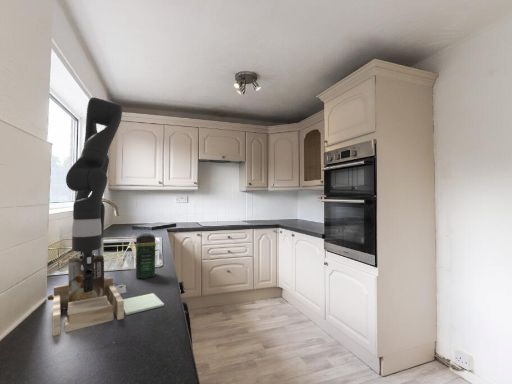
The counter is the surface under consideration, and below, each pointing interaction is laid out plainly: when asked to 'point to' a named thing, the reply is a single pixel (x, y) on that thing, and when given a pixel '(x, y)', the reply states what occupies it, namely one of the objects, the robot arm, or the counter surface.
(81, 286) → the coffee box
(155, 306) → the sage mat
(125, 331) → the counter surface
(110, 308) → the offcut stack
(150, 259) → the coffee jar
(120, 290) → the kitchen cleaver
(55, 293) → the pine rack
